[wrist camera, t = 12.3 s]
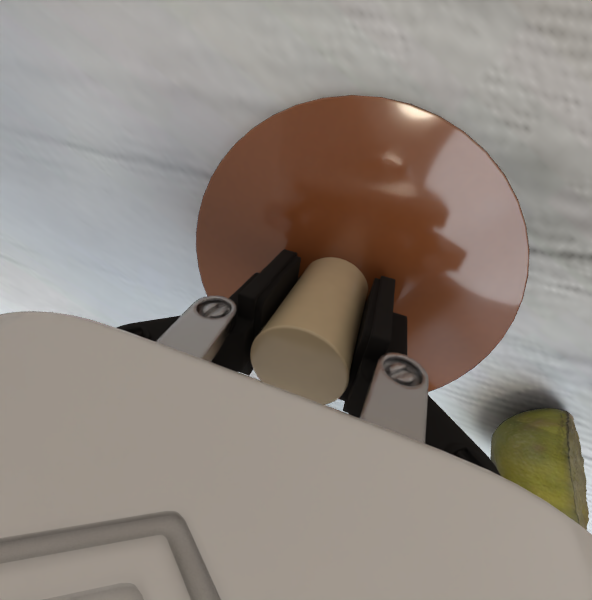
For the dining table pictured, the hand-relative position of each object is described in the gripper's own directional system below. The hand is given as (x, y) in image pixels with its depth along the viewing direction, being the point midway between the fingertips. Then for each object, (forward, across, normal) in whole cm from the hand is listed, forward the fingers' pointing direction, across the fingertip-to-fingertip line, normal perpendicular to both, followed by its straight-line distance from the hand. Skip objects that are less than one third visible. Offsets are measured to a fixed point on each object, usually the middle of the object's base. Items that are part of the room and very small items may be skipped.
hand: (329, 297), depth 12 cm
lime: (+2, -11, +5) cm, 12 cm away
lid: (+1, 0, 0) cm, 1 cm away
